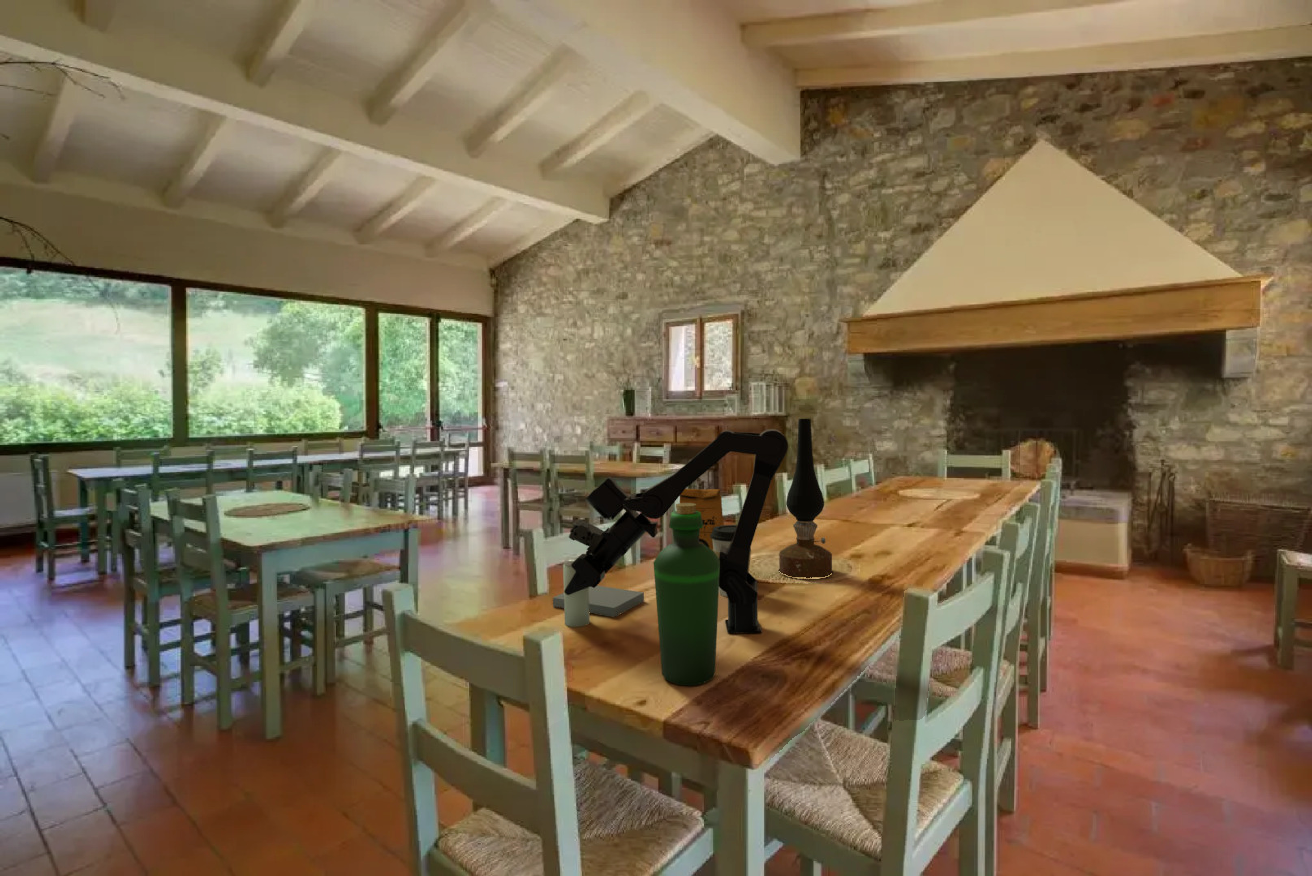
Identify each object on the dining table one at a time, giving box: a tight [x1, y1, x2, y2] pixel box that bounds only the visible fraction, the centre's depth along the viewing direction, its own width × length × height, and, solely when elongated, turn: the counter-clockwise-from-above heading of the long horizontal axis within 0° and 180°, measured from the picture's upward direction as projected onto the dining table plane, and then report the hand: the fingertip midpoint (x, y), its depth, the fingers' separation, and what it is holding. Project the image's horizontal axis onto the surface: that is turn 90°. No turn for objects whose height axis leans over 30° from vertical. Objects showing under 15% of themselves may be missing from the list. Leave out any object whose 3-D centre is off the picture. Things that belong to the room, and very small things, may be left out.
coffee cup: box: [710, 524, 752, 598], centre depth 150 cm, size 10×10×15 cm
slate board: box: [552, 585, 645, 618], centre depth 144 cm, size 16×12×2 cm
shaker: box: [562, 556, 591, 628], centre depth 132 cm, size 5×5×13 cm
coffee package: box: [679, 488, 725, 550], centre depth 167 cm, size 10×12×22 cm
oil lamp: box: [777, 418, 834, 578], centre depth 163 cm, size 14×15×40 cm
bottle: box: [653, 502, 720, 687], centre depth 105 cm, size 11×11×28 cm
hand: (569, 589), depth 132 cm, fingers closed on shaker, 5 cm apart
